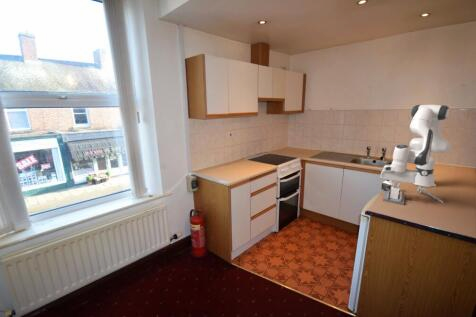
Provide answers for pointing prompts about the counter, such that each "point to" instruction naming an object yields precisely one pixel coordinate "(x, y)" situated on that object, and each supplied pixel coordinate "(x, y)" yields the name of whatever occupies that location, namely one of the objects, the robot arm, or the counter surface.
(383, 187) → the medicine bottle
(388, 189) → the din rail
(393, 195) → the din module
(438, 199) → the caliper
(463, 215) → the counter surface
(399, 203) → the rail base
